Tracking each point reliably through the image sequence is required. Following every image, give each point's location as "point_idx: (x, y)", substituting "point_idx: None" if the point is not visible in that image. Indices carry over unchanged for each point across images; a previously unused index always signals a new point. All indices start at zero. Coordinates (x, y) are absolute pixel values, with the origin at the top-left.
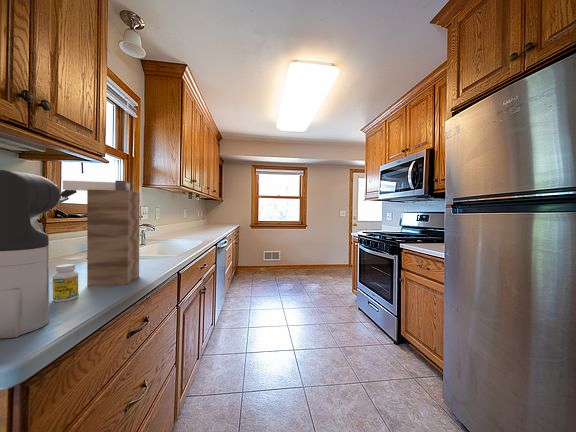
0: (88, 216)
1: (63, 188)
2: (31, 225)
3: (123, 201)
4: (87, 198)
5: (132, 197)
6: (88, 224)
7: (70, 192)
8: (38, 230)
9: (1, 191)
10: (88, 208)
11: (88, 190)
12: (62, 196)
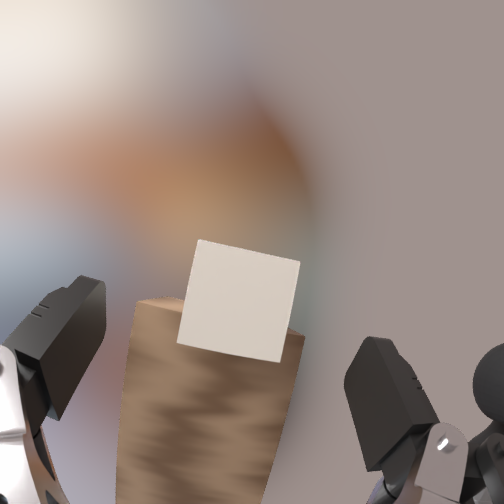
0: (271, 461)
1: (280, 350)
2: (493, 420)
3: None
4: (294, 383)
5: None
6: (263, 489)
7: (87, 349)
8: (482, 433)
9: None
10: (281, 428)
11: (302, 340)
12: (33, 428)
